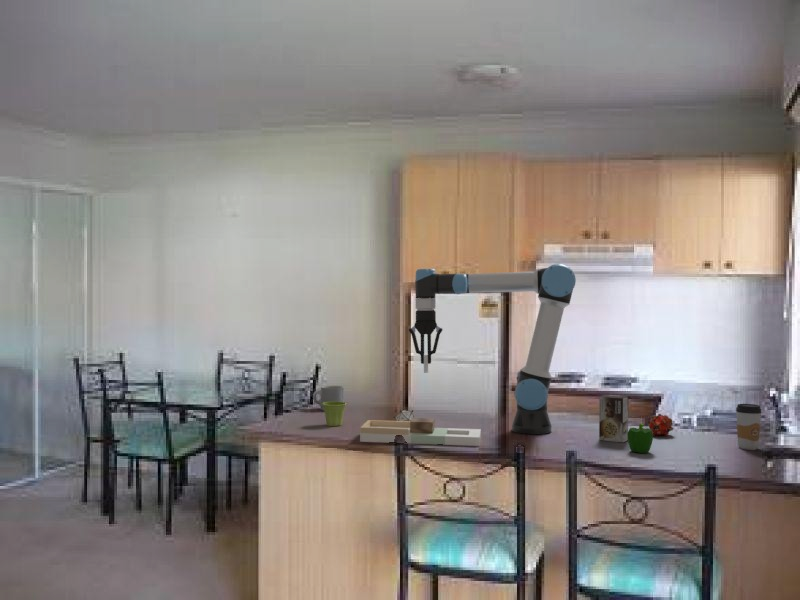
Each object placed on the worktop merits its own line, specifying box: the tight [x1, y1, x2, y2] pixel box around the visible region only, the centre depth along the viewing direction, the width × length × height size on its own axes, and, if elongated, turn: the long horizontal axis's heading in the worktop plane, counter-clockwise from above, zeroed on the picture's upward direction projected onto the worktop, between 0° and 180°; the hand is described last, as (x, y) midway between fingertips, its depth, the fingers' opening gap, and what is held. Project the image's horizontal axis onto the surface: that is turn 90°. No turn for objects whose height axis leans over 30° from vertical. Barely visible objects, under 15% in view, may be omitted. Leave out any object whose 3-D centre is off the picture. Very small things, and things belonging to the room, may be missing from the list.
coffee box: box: [598, 394, 629, 443], centre depth 291 cm, size 9×6×16 cm
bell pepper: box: [627, 423, 654, 454], centre depth 270 cm, size 8×8×10 cm
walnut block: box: [410, 417, 435, 434], centre depth 288 cm, size 8×8×4 cm
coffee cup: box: [735, 403, 763, 451], centre depth 279 cm, size 8×8×15 cm
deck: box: [359, 419, 482, 447], centre depth 288 cm, size 42×16×5 cm, turn 83°
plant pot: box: [322, 401, 347, 427], centre depth 315 cm, size 9×9×9 cm
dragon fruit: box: [647, 413, 674, 437], centre depth 302 cm, size 8×8×12 cm
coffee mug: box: [312, 385, 344, 412], centre depth 356 cm, size 13×10×10 cm
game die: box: [393, 408, 415, 421], centre depth 306 cm, size 9×8×10 cm
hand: (426, 372), depth 301 cm, fingers closed
